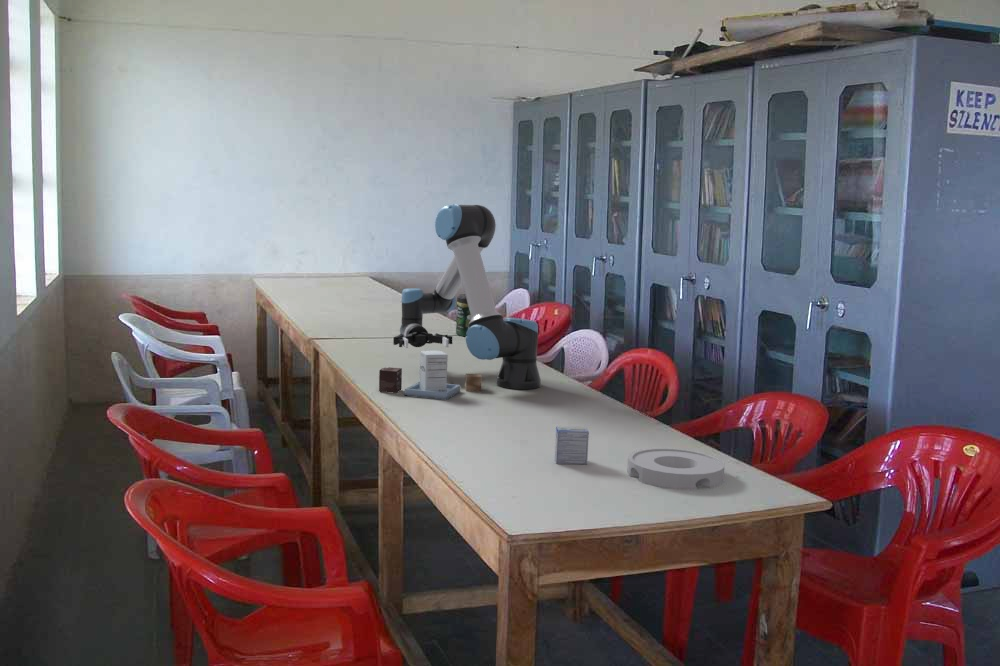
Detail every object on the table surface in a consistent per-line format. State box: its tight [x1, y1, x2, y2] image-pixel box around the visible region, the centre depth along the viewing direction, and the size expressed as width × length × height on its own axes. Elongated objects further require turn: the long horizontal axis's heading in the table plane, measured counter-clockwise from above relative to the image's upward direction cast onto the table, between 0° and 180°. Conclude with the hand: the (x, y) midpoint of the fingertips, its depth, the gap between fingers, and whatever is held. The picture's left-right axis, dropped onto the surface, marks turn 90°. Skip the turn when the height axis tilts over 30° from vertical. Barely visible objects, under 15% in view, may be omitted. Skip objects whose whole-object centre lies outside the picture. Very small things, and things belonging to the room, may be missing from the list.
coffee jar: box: [455, 293, 472, 337], centre depth 445 cm, size 10×8×19 cm
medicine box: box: [554, 425, 590, 465], centre depth 247 cm, size 8×4×9 cm, turn 92°
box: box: [378, 366, 403, 394], centre depth 322 cm, size 6×6×7 cm
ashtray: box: [626, 447, 725, 491], centre depth 240 cm, size 23×23×4 cm
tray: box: [404, 381, 461, 401], centre depth 321 cm, size 14×14×2 cm
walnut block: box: [464, 373, 483, 392], centre depth 329 cm, size 5×5×5 cm
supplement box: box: [419, 350, 449, 392], centre depth 320 cm, size 7×7×13 cm
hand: (427, 343), depth 329 cm, fingers open, 13 cm apart
